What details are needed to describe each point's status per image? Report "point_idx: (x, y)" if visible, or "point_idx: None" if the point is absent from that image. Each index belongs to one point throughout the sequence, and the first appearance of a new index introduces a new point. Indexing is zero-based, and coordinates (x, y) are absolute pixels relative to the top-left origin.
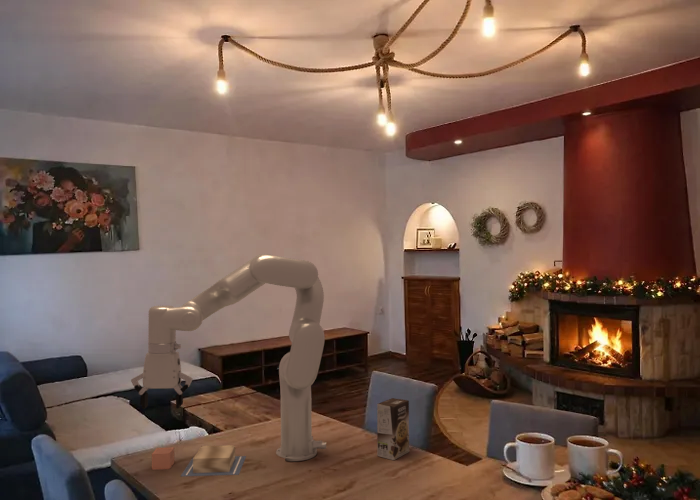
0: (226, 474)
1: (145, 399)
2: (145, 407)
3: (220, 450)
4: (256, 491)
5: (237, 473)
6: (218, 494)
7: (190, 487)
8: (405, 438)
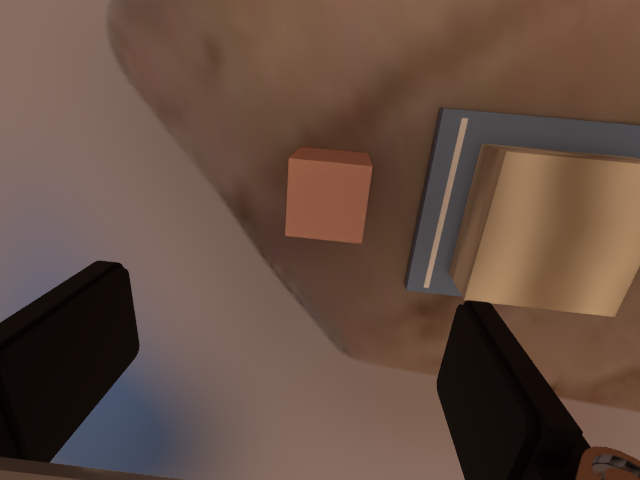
0: None
1: (77, 397)
2: (134, 333)
3: (594, 229)
4: (628, 394)
5: None
6: None
7: (439, 338)
8: None
